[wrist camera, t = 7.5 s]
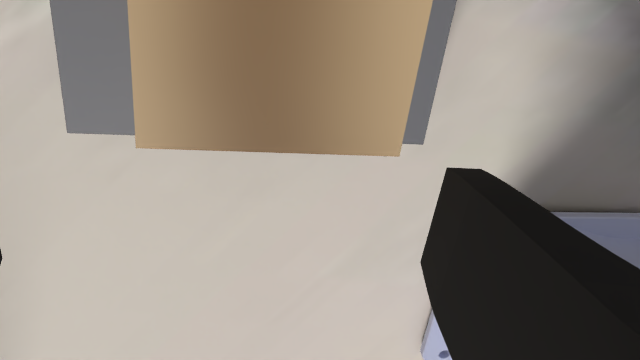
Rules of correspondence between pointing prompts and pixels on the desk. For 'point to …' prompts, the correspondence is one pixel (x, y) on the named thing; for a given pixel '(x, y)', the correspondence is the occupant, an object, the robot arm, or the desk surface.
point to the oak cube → (275, 74)
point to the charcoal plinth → (116, 78)
